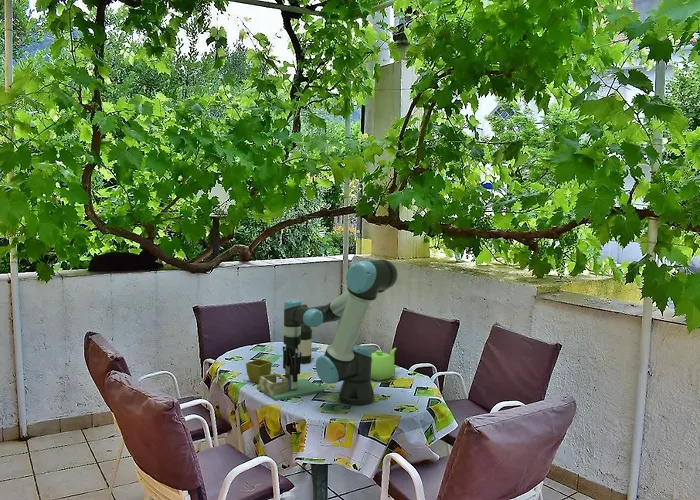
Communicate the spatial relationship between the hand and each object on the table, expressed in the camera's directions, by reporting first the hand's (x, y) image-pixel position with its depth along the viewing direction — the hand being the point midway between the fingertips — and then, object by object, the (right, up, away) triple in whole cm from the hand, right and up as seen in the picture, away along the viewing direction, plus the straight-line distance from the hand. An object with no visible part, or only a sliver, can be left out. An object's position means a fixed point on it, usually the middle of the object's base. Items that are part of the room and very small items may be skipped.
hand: (291, 387), depth 261 cm
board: (0, -2, +1) cm, 2 cm away
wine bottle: (+2, +2, +47) cm, 47 cm away
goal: (-8, -2, -2) cm, 8 cm away
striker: (-1, 0, 0) cm, 1 cm away
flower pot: (-16, 0, +12) cm, 20 cm away
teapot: (+40, -1, +25) cm, 47 cm away
